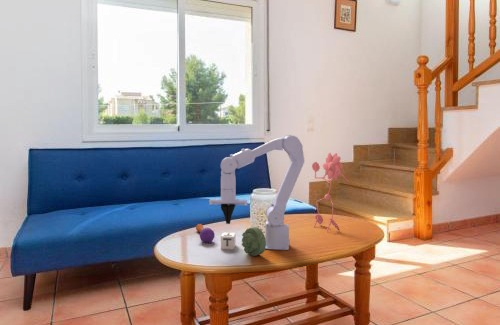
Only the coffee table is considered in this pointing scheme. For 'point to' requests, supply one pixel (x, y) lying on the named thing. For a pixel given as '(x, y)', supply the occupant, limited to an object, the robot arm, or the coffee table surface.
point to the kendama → (205, 233)
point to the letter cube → (227, 240)
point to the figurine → (333, 171)
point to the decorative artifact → (253, 241)
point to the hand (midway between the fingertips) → (228, 223)
